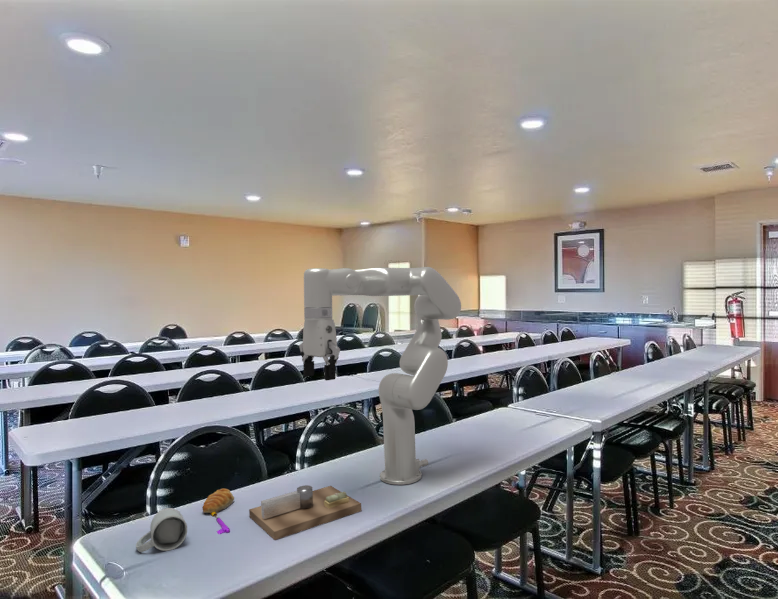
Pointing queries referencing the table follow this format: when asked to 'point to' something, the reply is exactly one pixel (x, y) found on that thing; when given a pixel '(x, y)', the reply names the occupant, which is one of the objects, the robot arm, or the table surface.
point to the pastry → (218, 501)
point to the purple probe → (222, 524)
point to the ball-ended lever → (287, 502)
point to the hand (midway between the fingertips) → (319, 377)
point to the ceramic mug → (164, 531)
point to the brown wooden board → (308, 513)
